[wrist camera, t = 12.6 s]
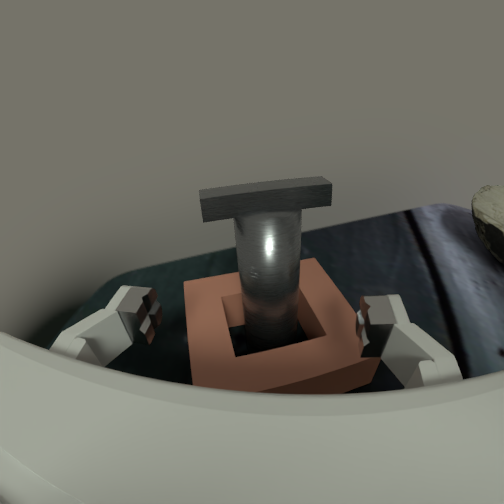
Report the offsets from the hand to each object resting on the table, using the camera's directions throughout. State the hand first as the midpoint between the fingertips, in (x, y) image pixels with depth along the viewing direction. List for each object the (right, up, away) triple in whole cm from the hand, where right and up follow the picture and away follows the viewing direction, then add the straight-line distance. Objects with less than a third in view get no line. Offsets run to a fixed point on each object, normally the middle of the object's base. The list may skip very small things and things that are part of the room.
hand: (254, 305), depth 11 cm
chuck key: (+1, -4, +8) cm, 9 cm away
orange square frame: (+1, -4, +8) cm, 9 cm away
